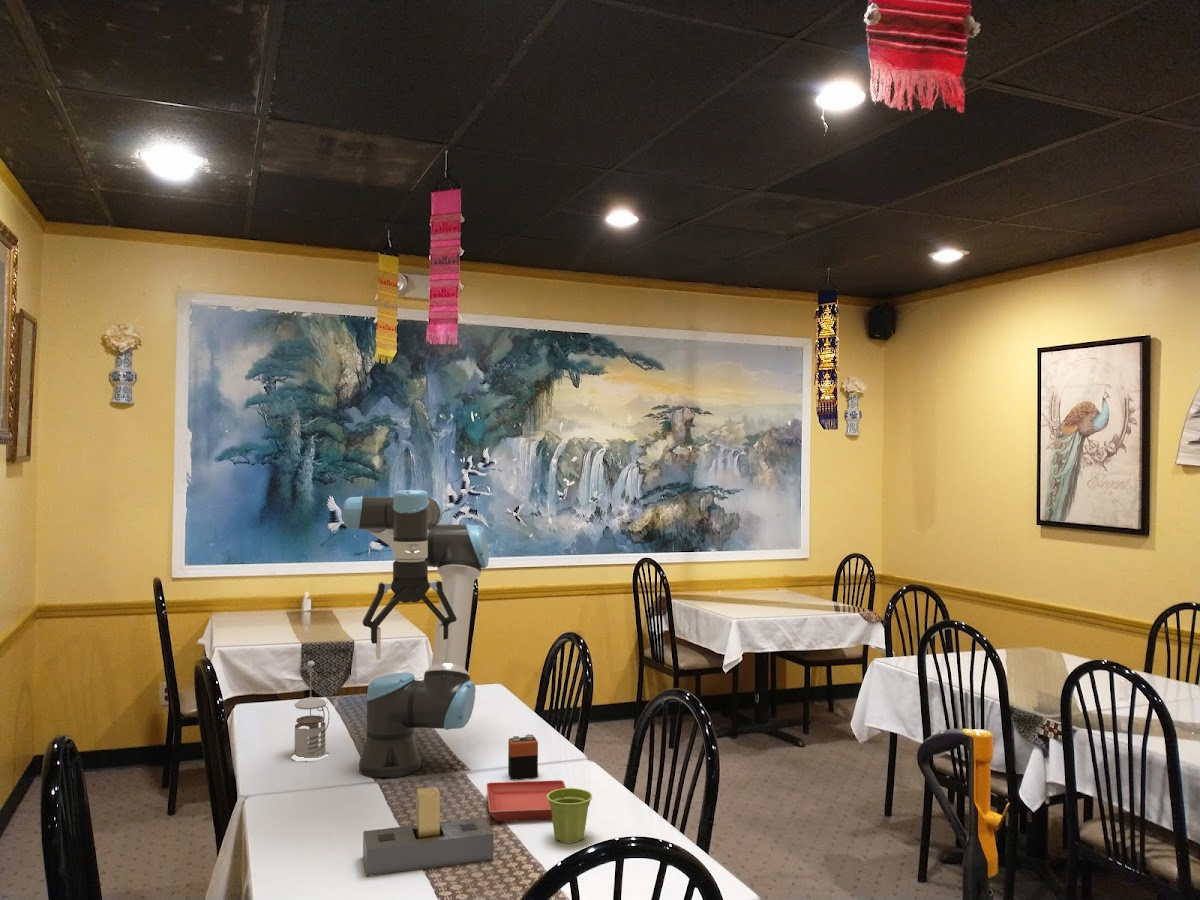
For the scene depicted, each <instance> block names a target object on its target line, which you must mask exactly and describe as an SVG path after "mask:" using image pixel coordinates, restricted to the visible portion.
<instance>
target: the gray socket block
mask: <svg viewBox="0 0 1200 900" xmlns="http://www.w3.org/2000/svg"><path fill="white" fill-rule="evenodd" d="M362 833H363V835H362V838H363V839H362V840H363V841H362V858H363V863H364V868H365V869H366V870H365V869H364V870H365V873H366V874H367V875H366V877H371V876H370V875H374V876H379V875H378V874H382V875H387V874H386V873H389V874H395V873H394V872H397V873H403V872H402V871H404V872H411V871H418V870H425V869H431V868H439V867H448V866H456V865H461V864H462V863H463V864H469V862H470V863H475V862H476V863H477V861H478V862H483V861H484V862H485V861H491V860H494V832H493V831H492V828H491V827H490V825H489V823H488V821H487V820H486V817H485V816H480V817H472V818H471V817H470V818H462V819H455V820H447V821H440V837H433V838H425V839H417V840H416V824H414V825H413V824H412V825H405V826H397V827H388V828H387V827H386V828H380V829H373V830H363V832H362ZM463 864H462V865H463ZM447 865H448V866H447ZM410 870H411V871H410Z"/></svg>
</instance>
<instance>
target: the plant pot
mask: <svg viewBox="0 0 1200 900" xmlns="http://www.w3.org/2000/svg"><path fill="white" fill-rule="evenodd" d="M547 799H548V800H549V805H550V807H551V812H552V819H551V820H552V826H553V827H552V828H553V833H554V839H555V840H556V841H558V840H559V841H560V842H561V843H565V844H567V843H569V844H570V843H572V844H573V843H577V842H579V841H580V840H583V839H584V838H585V833H586V824H587V818H588V810H589V806H590V803H591V800H592V799H593V794H592V793H591V792H590V791H588V790H586V789H582V788H575V787H566V788H562V789H557V790H553V791H551V792H549V793H548V794H547Z"/></svg>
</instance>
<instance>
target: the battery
mask: <svg viewBox="0 0 1200 900" xmlns="http://www.w3.org/2000/svg"><path fill="white" fill-rule="evenodd" d="M507 744H508V746H507V747H508V748H507V750H508V757H507V758H508V759H507V761H508V764H507V766H508V767H507V769H508V770H507V773H508V776H509V779H510V780H511V779H518V780H525V779H524V778H530V779H535V778H534V777H537V778H538V777H539V766H538V765H539V741H538V740H537V737H536V736H535V735H534V734H530V733H528V734H526V735H525V736H523V737H522V736H521V737H520V736H518V735H516V736H515V735H514V736H512V737H511V738H508V743H507Z"/></svg>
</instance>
